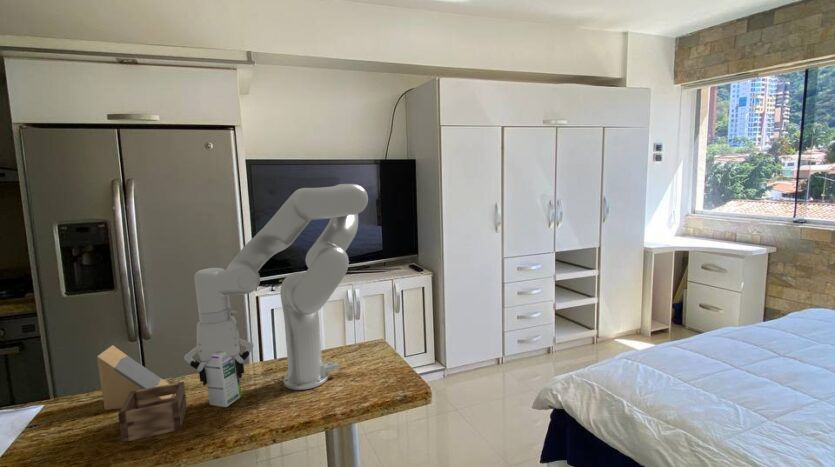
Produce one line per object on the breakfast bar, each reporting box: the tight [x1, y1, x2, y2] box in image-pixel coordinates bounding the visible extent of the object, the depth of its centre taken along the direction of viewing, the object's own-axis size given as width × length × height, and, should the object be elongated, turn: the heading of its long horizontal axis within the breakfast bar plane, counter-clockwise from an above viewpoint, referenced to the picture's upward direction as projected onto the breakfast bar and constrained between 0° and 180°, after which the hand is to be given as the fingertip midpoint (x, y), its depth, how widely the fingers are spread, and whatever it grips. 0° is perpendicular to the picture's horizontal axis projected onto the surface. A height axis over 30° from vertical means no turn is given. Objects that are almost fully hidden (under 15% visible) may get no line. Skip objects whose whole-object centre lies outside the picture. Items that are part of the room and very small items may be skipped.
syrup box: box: [205, 352, 242, 408], centre depth 117 cm, size 6×6×14 cm
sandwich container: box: [96, 344, 174, 411], centre depth 120 cm, size 9×15×15 cm, turn 102°
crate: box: [118, 381, 188, 443], centre depth 108 cm, size 12×12×7 cm
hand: (223, 379), depth 117 cm, fingers closed on syrup box, 8 cm apart
